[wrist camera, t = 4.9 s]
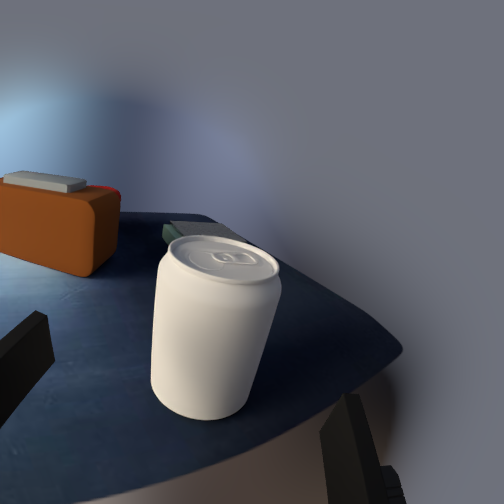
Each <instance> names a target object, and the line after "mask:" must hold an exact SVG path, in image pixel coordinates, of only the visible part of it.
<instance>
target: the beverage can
mask: <svg viewBox="0 0 504 504" xmlns="http://www.w3.org/2000/svg"><path fill="white" fill-rule="evenodd" d="M278 273H279V264H278V262H277V261H276V260H275V259H274V258H273V257H272V256H271V255H269V254H268V253H266V252H265V251H263V250H261V249H259V248H257V247H254V246H252V245H249V244H246V243H243V242H240V241H237V240H233V239H228V238H223V237H216V236H206V235H193V236H185V237H181V238H178V239H175V240H174V241H172V242H171V243H170V245H169V247H168V252H167V253H166V254H165V256H164V257H163V258H162V260H161V261H160V264H159V267H158V275H157V285H156V295H155V307H154V321H153V337H152V358H151V384H152V388H153V391H154V393H155V394H156V396H157V397H158V399H159V400H160V401H161V402H162V403H163V404H164V405H165V406H166V407H168V408H169V409H171V410H172V411H174V412H176V413H178V414H180V415H182V416H185V417H188V418H192V419H198V420H216V419H221V418H225V417H227V416H230V415H232V414H234V413H235V412H237V411H238V410H239V409H241V408H242V407H243V405H244V404H245V402H246V401H247V398H248V396H249V393H250V390H251V387H252V384H253V381H254V378H255V374H256V371H257V368H258V365H259V362H260V359H261V356H262V353H263V350H264V346H265V343H266V340H267V337H268V334H269V331H270V327H271V324H272V321H273V317H274V314H275V311H276V308H277V304H278V301H279V298H280V294H281V282H280V278H279V276H278Z"/></svg>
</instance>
